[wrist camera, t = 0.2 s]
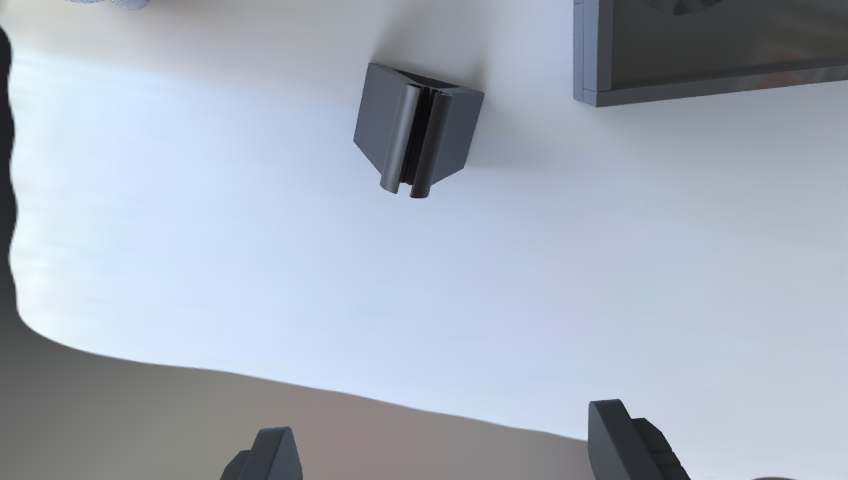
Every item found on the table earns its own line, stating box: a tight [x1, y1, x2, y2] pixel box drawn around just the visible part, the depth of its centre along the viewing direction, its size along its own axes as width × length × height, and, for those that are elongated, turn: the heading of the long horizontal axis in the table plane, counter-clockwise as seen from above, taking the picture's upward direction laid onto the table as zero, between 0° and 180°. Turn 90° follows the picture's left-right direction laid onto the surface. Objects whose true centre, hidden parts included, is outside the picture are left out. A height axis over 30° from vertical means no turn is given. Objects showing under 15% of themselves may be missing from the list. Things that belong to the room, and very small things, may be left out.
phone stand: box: [353, 63, 485, 198], centre depth 33 cm, size 9×6×12 cm, turn 75°
